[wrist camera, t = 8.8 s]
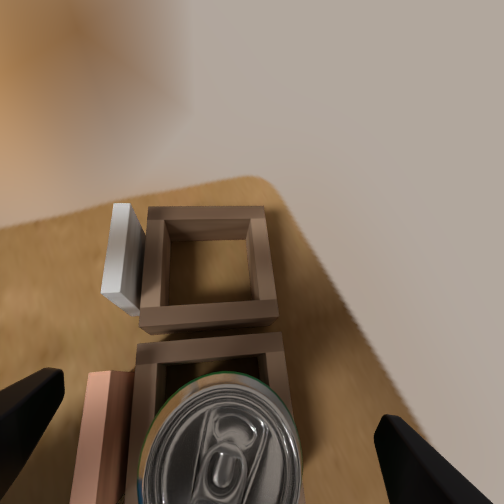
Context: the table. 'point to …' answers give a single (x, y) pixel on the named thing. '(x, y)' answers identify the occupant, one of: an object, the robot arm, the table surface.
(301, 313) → the table surface
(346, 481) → the table surface
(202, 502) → the soda can
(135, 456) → the socket block
